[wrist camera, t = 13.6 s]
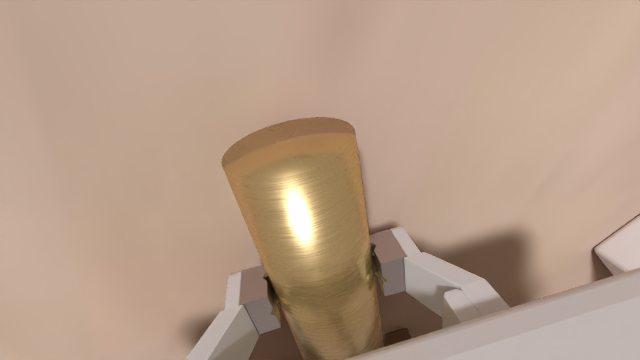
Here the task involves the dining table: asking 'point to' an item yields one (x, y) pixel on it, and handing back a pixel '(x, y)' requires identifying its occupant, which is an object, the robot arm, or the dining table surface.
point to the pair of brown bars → (397, 337)
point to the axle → (311, 231)
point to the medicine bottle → (621, 248)
